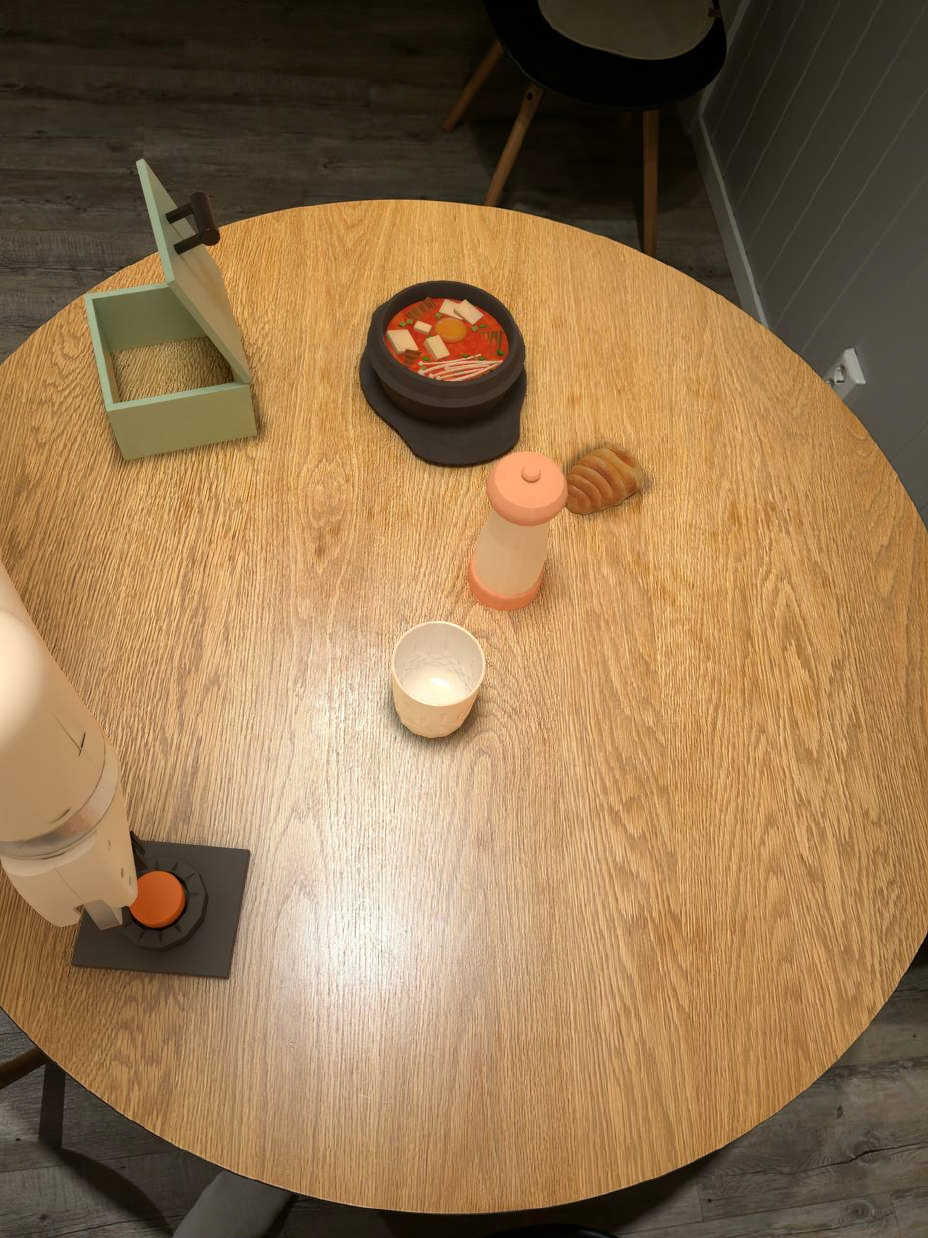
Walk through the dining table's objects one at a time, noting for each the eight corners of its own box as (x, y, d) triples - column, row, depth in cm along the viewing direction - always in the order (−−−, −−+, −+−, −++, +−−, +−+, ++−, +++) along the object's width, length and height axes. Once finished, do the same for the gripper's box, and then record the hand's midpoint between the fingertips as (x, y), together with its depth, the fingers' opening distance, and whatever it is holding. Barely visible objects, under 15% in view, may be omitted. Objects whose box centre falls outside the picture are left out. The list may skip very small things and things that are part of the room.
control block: (78, 968, 74) (63, 961, 71) (109, 843, 79) (96, 830, 75) (230, 981, 75) (224, 974, 71) (252, 855, 79) (247, 844, 76)
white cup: (483, 682, 89) (495, 635, 80) (460, 758, 85) (471, 717, 76) (403, 659, 89) (407, 609, 80) (377, 733, 85) (379, 690, 77)
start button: (127, 925, 72) (122, 921, 71) (139, 873, 74) (134, 868, 73) (180, 930, 73) (175, 926, 71) (190, 878, 75) (186, 873, 73)
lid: (166, 283, 78) (219, 257, 78) (135, 161, 85) (184, 137, 84) (245, 383, 91) (291, 362, 91) (213, 271, 98) (256, 251, 97)
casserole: (554, 459, 102) (569, 408, 94) (387, 488, 98) (389, 437, 91) (490, 294, 113) (499, 237, 105) (337, 315, 109) (335, 256, 101)
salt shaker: (453, 568, 94) (472, 450, 77) (516, 543, 96) (548, 423, 79) (487, 627, 92) (514, 517, 75) (551, 600, 94) (591, 487, 77)
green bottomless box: (127, 467, 96) (106, 411, 89) (104, 355, 103) (82, 294, 95) (258, 442, 99) (249, 385, 92) (228, 334, 106) (217, 273, 98)
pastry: (585, 535, 98) (593, 514, 94) (541, 493, 100) (547, 471, 96) (646, 489, 101) (655, 468, 98) (602, 450, 103) (610, 427, 100)
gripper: (-59, 661, 48) (49, 776, 64) (-33, 953, 42) (79, 998, 58) (92, 626, 50) (160, 746, 66) (138, 902, 43) (201, 960, 60)
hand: (122, 864), depth 62 cm, fingers closed
